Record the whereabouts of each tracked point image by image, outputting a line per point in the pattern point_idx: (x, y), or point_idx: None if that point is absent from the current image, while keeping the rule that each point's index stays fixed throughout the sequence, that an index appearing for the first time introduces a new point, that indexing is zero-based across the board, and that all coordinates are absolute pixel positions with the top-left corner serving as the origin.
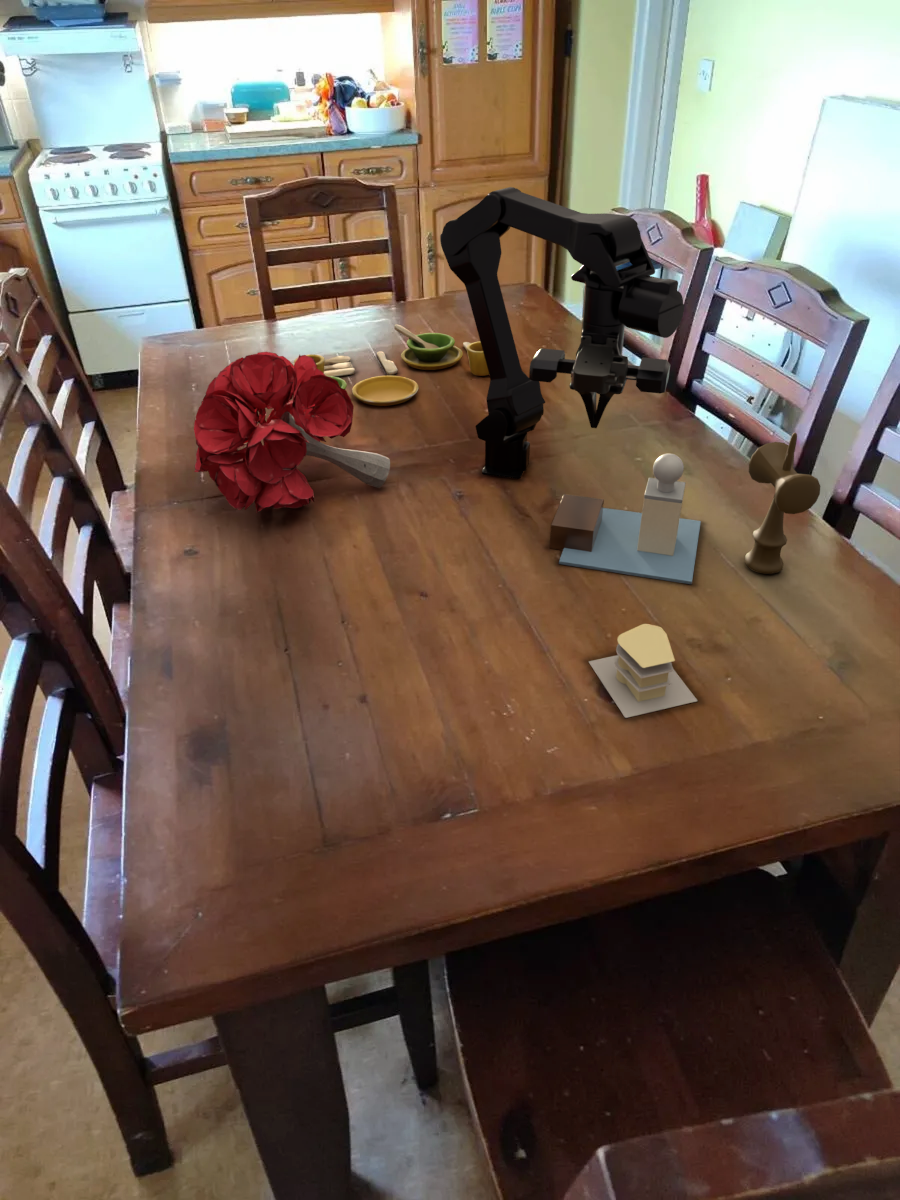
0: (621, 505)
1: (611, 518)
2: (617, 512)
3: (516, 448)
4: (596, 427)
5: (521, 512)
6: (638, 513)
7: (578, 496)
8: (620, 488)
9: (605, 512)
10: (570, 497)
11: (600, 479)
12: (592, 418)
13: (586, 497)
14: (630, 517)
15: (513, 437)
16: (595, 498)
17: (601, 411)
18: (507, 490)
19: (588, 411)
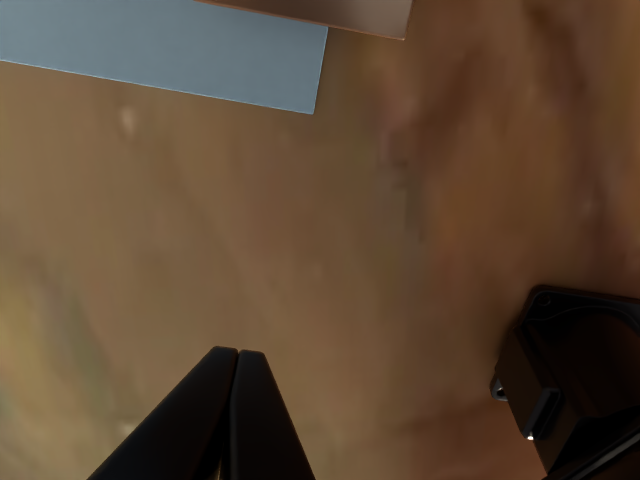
0: (147, 142)
1: (171, 5)
2: (151, 61)
3: (591, 388)
4: (214, 349)
5: (561, 46)
6: (61, 62)
7: (327, 15)
8: (165, 260)
9: (202, 57)
10: (369, 2)
11: (242, 311)
12: (246, 410)
13: (284, 10)
14: (89, 22)
15: (628, 429)
16: (236, 3)
17: (125, 470)
18: (591, 212)
19: (290, 473)
